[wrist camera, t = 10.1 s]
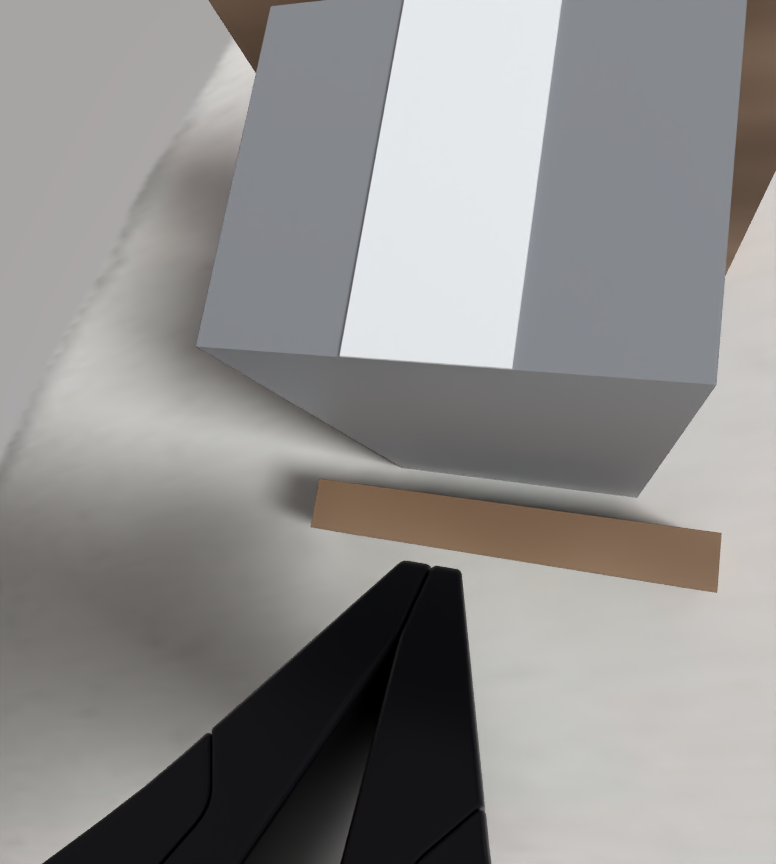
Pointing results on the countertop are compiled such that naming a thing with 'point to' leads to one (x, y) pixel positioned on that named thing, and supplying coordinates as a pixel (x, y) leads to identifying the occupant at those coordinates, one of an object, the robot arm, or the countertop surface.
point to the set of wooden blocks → (540, 528)
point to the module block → (487, 229)
